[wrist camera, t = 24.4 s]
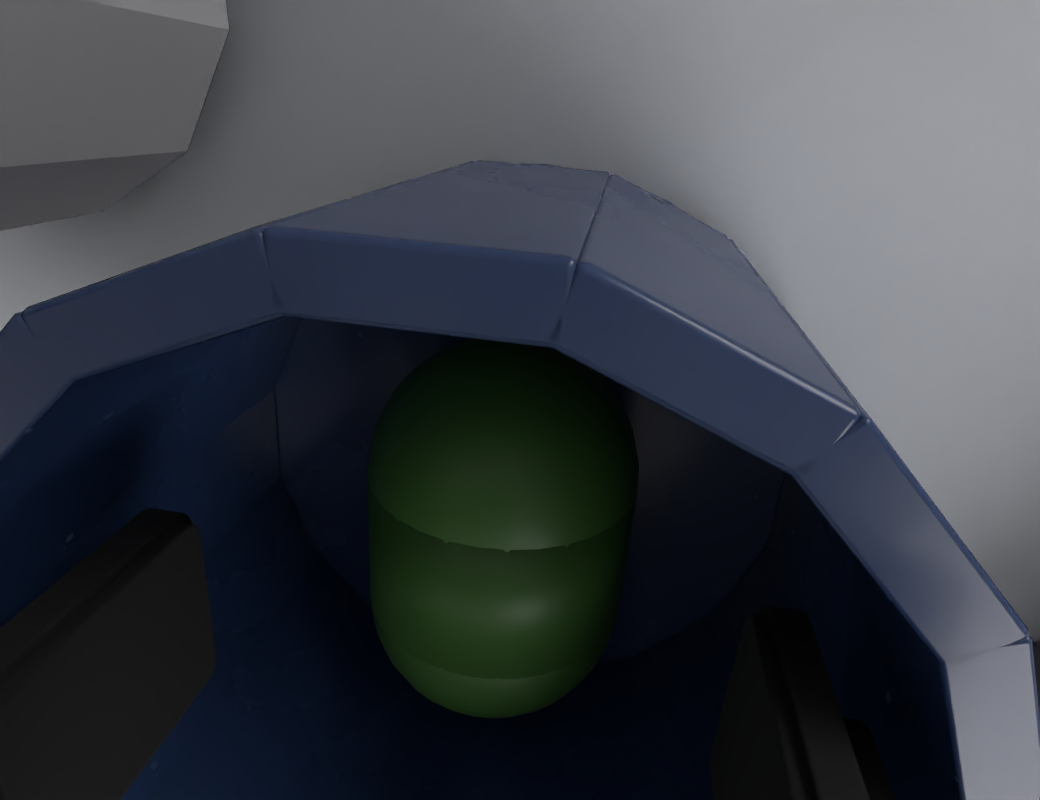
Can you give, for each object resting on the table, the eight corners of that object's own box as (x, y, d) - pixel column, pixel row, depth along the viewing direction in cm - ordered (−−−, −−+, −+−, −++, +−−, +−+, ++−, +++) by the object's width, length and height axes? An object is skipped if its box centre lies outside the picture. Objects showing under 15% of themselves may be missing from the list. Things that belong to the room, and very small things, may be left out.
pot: (235, 136, 15) (-300, 168, 6) (890, 194, 14) (1338, 336, 5) (274, 632, 20) (9, 1017, 12) (750, 712, 19) (849, 1219, 10)
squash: (414, 289, 15) (313, 378, 11) (655, 317, 15) (662, 424, 10) (412, 608, 19) (336, 780, 14) (605, 640, 18) (593, 830, 14)
